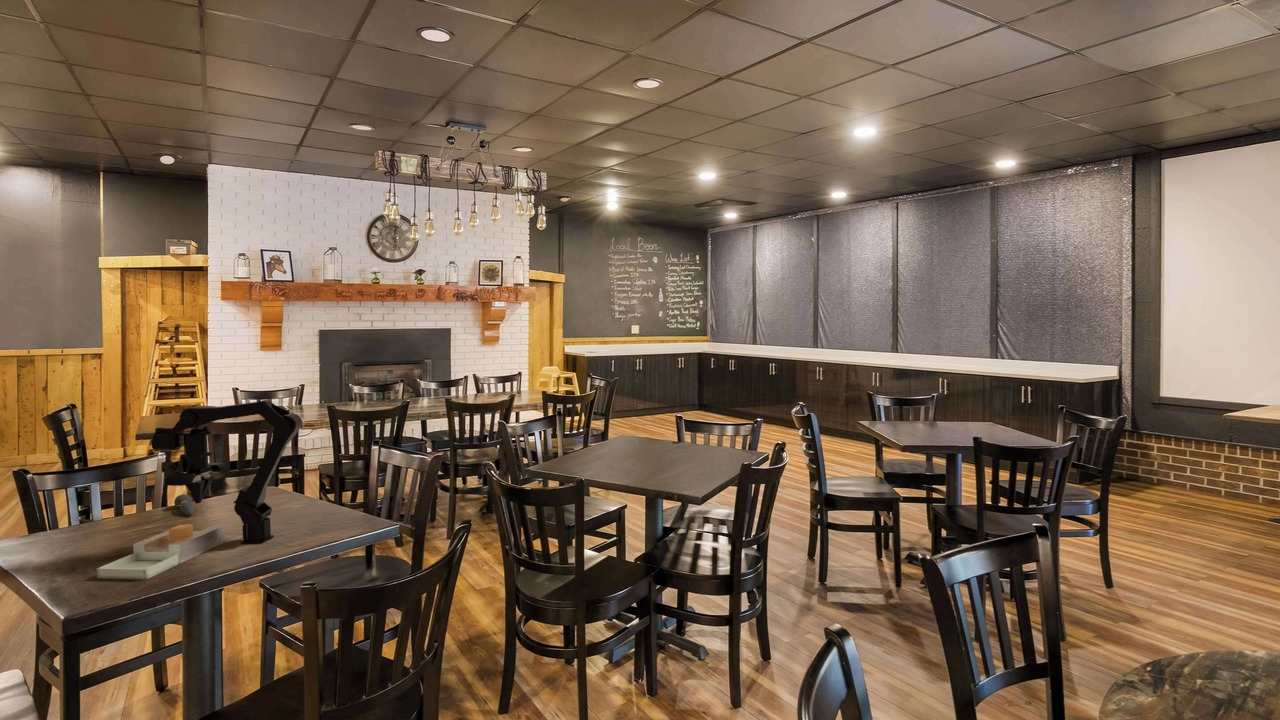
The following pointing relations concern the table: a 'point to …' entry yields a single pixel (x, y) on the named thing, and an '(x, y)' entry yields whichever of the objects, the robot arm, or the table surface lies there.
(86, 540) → the table surface
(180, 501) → the grey double lobed rod
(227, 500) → the table surface
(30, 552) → the table surface
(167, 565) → the tray
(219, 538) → the slot rail
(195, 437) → the robot arm
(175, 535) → the peach toy brick
